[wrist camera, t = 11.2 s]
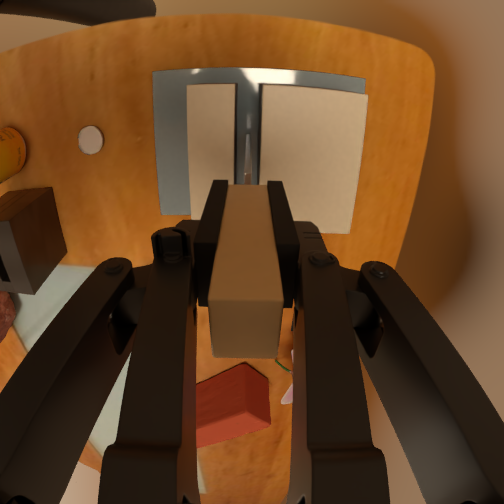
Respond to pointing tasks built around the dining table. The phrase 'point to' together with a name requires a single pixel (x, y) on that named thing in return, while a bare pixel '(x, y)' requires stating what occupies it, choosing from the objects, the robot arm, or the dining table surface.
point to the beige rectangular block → (313, 150)
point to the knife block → (29, 239)
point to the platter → (175, 119)
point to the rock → (6, 313)
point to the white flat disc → (90, 140)
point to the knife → (246, 275)
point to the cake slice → (210, 139)
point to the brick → (231, 405)
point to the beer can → (11, 153)
